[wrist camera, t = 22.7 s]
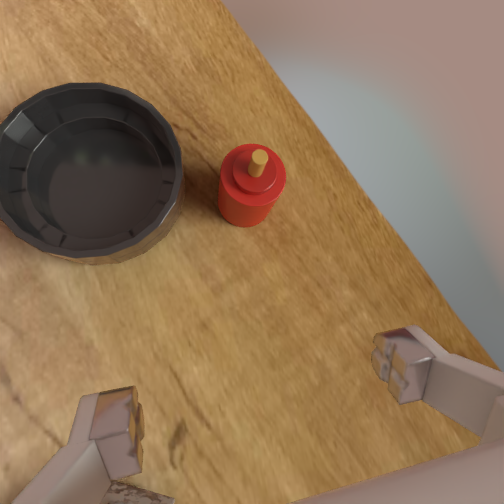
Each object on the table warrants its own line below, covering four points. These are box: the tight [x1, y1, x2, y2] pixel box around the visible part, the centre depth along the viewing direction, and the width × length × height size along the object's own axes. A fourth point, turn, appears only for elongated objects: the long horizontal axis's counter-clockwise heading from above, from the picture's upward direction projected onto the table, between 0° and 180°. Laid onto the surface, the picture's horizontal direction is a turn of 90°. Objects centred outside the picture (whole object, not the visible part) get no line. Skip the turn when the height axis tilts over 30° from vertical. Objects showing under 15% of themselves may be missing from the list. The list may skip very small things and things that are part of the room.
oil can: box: [218, 144, 286, 227], centre depth 29 cm, size 5×5×10 cm
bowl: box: [0, 83, 186, 265], centre depth 30 cm, size 15×15×5 cm
